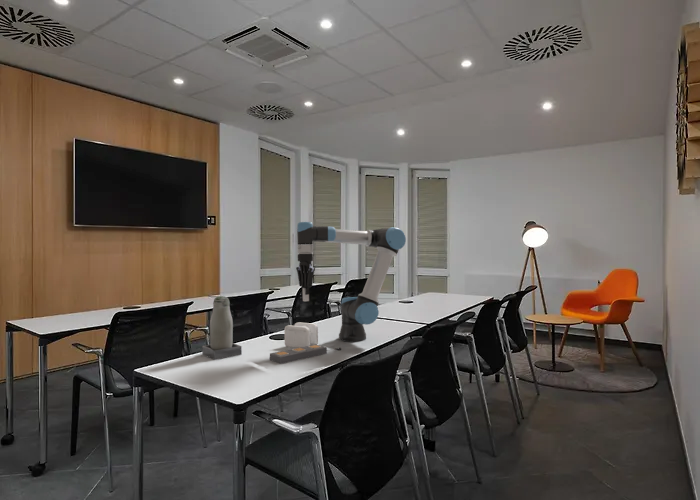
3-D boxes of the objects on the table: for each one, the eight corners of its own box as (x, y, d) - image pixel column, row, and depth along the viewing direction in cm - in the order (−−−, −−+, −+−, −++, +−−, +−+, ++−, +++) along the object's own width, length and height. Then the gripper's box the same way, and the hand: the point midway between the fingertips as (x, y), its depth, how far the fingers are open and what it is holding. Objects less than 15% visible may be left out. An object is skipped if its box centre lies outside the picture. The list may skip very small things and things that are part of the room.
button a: (315, 351, 204) (315, 344, 204) (321, 353, 200) (321, 346, 200) (308, 353, 201) (308, 346, 201) (313, 355, 197) (313, 347, 197)
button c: (283, 358, 192) (283, 351, 192) (289, 360, 189) (289, 353, 189) (275, 360, 189) (275, 352, 189) (280, 362, 186) (280, 354, 186)
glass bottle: (206, 356, 201) (205, 297, 201) (218, 351, 211) (217, 294, 211) (225, 357, 199) (225, 297, 199) (236, 352, 209) (235, 295, 209)
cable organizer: (319, 346, 218) (319, 324, 218) (307, 351, 209) (307, 327, 209) (296, 343, 226) (296, 321, 226) (283, 348, 217) (283, 325, 217)
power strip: (334, 348, 214) (334, 340, 214) (346, 351, 208) (346, 343, 208) (269, 362, 190) (269, 353, 190) (280, 366, 183) (280, 357, 183)
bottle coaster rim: (228, 349, 215) (228, 341, 214) (241, 354, 204) (241, 346, 204) (202, 354, 206) (202, 346, 206) (214, 359, 195) (214, 351, 195)
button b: (300, 354, 198) (300, 347, 198) (305, 356, 194) (305, 349, 194) (292, 356, 195) (292, 349, 195) (297, 358, 192) (297, 350, 191)
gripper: (291, 253, 213) (292, 300, 213) (306, 253, 203) (307, 303, 203) (303, 253, 218) (304, 299, 218) (319, 253, 208) (319, 301, 208)
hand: (305, 301), depth 211 cm, fingers closed
